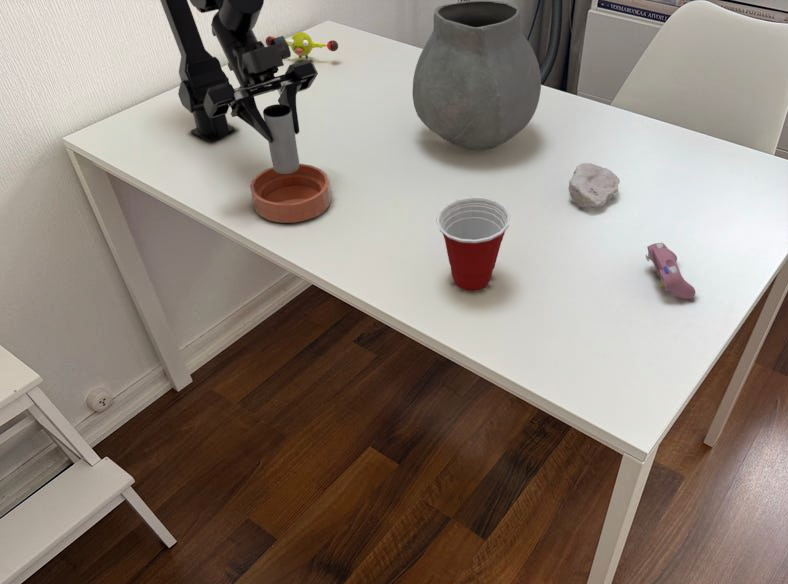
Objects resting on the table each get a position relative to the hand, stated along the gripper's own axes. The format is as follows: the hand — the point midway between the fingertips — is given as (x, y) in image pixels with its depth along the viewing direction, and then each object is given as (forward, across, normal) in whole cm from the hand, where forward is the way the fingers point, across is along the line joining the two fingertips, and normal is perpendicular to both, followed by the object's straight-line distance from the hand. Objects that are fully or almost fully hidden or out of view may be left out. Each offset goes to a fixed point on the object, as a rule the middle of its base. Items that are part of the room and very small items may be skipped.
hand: (284, 137), depth 110 cm
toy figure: (-28, +33, +48) cm, 65 cm away
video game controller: (+48, +35, -29) cm, 66 cm away
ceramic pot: (+10, +41, +9) cm, 43 cm away
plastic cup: (+34, +11, -16) cm, 39 cm away
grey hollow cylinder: (+4, 0, +6) cm, 7 cm away
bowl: (+8, 0, +10) cm, 13 cm away
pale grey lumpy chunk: (+30, +44, -12) cm, 55 cm away
